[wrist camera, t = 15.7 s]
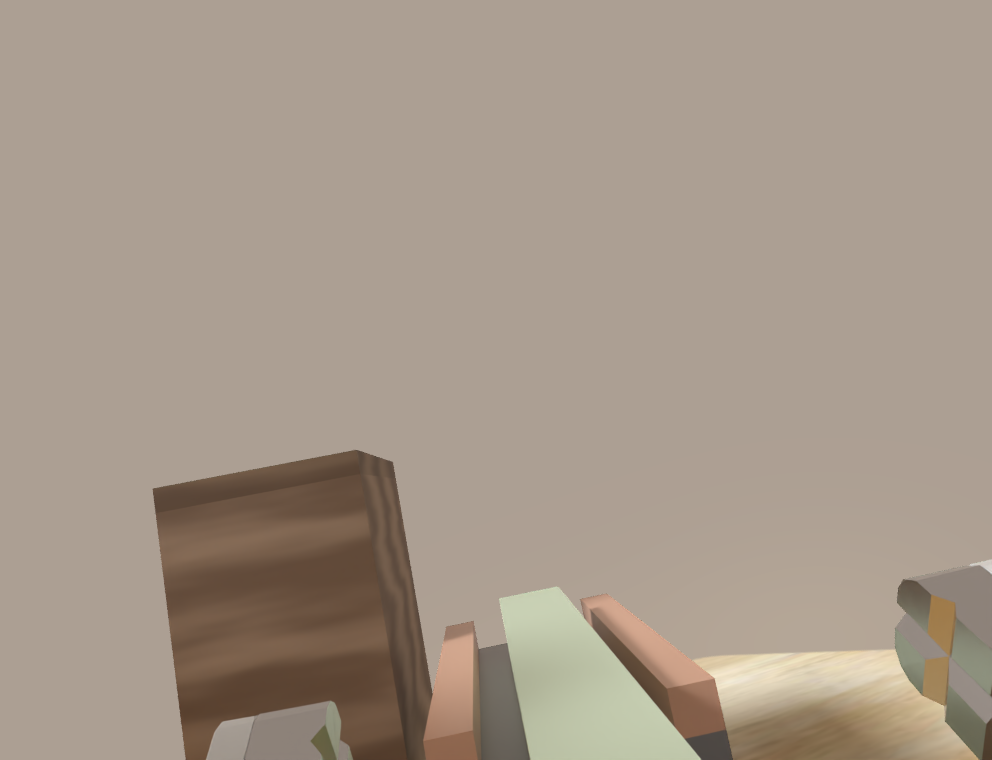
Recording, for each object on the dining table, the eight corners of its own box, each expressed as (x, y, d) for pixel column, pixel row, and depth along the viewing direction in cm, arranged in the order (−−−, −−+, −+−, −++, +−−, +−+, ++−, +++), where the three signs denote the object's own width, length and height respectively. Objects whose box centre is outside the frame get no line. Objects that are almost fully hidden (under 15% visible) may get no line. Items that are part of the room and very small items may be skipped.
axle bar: (761, 975, 12) (717, 779, 12) (580, 1018, 11) (542, 819, 12) (570, 648, 35) (558, 586, 36) (510, 660, 35) (499, 598, 36)
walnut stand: (451, 1027, 32) (356, 450, 35) (225, 1081, 31) (152, 488, 35) (459, 848, 48) (392, 462, 51) (309, 882, 47) (252, 488, 51)
